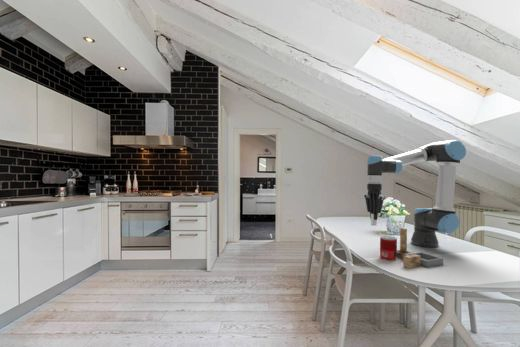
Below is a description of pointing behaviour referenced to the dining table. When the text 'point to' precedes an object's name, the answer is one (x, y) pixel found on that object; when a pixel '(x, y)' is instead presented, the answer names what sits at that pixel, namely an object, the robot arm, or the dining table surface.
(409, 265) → the wooden block
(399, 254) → the holder
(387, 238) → the canned food
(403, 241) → the dowel
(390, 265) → the dining table surface
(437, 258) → the tray
